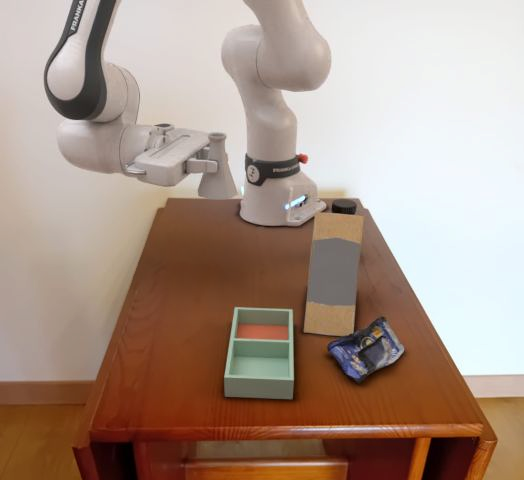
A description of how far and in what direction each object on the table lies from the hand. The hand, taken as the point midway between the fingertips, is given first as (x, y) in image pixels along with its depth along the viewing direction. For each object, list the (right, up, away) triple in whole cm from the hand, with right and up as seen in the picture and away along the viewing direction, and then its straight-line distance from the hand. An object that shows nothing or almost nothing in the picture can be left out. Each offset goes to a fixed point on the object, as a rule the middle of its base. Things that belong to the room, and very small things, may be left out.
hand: (222, 162), depth 91 cm
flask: (-1, -4, +4) cm, 6 cm away
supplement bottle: (+22, -13, +20) cm, 33 cm away
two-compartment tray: (+7, -33, -8) cm, 35 cm away
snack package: (+23, -34, -8) cm, 42 cm away
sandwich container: (+19, -25, +4) cm, 31 cm away
